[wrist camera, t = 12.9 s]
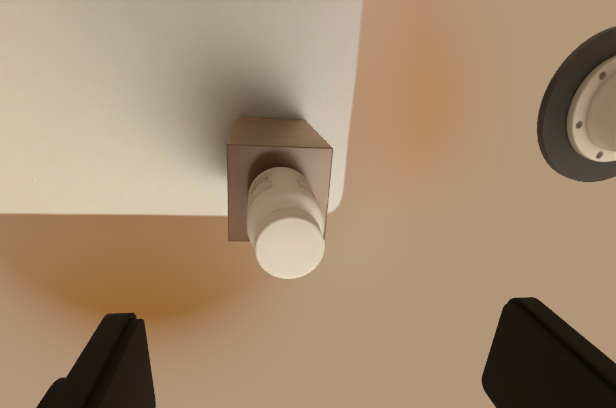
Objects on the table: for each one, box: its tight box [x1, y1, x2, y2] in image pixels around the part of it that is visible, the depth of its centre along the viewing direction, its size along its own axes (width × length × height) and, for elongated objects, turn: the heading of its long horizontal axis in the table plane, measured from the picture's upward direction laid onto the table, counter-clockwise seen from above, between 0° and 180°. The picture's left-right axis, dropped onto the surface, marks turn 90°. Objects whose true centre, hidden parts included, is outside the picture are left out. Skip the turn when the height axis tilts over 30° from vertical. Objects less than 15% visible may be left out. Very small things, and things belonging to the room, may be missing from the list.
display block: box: [227, 117, 333, 241], centre depth 31 cm, size 7×7×14 cm
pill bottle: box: [247, 167, 324, 279], centre depth 20 cm, size 4×4×8 cm
